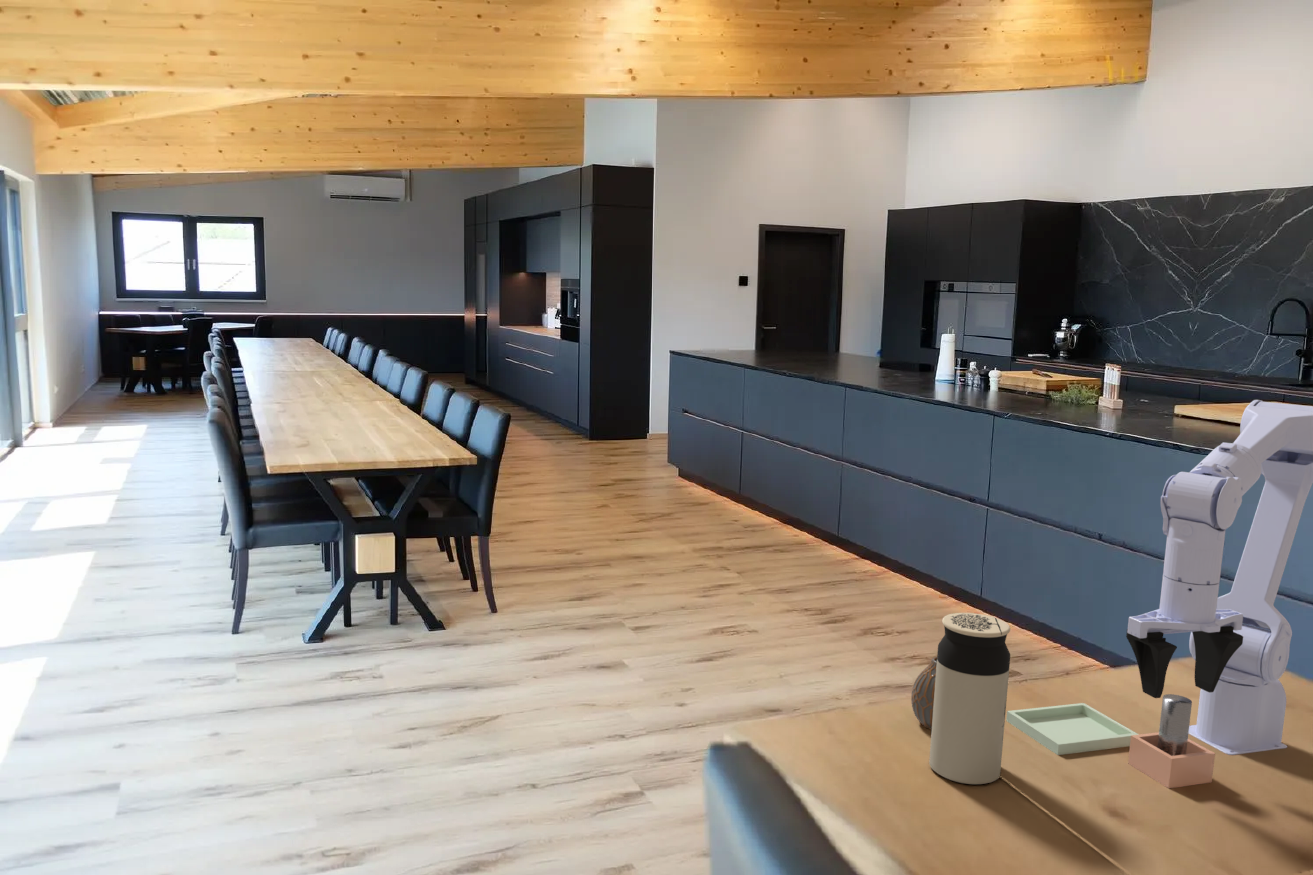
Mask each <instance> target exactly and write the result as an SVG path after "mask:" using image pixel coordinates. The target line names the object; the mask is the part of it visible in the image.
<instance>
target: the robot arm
mask: <svg viewBox="0 0 1313 875" xmlns="http://www.w3.org/2000/svg"><path fill="white" fill-rule="evenodd" d="M1261 475H1263V477H1264V481H1265V482H1264V485H1263V487H1262V488H1263V489H1262V491H1261V495H1260V498H1259V501H1258V503H1257V508H1256V511H1255V514H1254V516H1253V519H1252V523H1251V526H1250V530H1249V532H1248V536H1247V538H1246V542H1245V545H1244V549H1243V551H1242V554H1241V558H1240V561H1239V564H1238V568H1237V571H1236V574H1235V576H1234V581H1233V583H1232V585H1231V586H1232V587H1231V590H1230V592H1228V593H1226V594H1224V595H1220V596H1219V590H1220V579H1221V573H1222V572H1221V571H1222V562H1223V557H1224V556H1223V555H1224V554H1223V553H1224V548H1225V546H1224V544H1225V540H1226V539H1225V538H1226V530H1227V529H1229V527H1231V526H1232V525H1233V523H1234V521H1235V519H1236V516H1237V515H1238V514H1237V513H1238V510H1239V508H1240V507H1241V506H1242V503H1243V496H1244V495H1245V494H1246V493H1247V492H1248V491H1249V490H1250V489H1251V488H1252V487H1253V486H1254V485H1255V484H1256V482H1258V481H1259V479H1260V477H1261ZM1312 485H1313V405H1302V404H1291V403H1281V402H1272V401H1271V402H1270V401H1263V400H1262V399H1261V400H1260V399H1253V400H1252V401H1250V403H1249V404H1248V405H1247V406H1246V407H1245V408H1244V411H1243V412H1242V416H1241V418H1240V427H1239V435H1238V436H1237V438H1236V439H1235V440H1234V441H1233V442H1232V443H1231V442H1222V443H1220V445H1217V446H1216V447H1215V448H1214V449H1213V450H1211V452H1209V453H1208V455H1206V456H1205V457H1204V458H1203V459H1201V461H1200V462H1199V463H1198V464H1197V465H1196V466H1194V467H1193V468H1192V469H1191V470H1190V471H1189V472H1187V471H1180V472H1177V474H1173V475H1171V476H1169V477H1168V478H1167V480H1166V481H1165V484H1164V486H1163V490H1162V493H1161V494H1162V495H1161V496H1160V510H1161V515H1162V518H1163V519H1162V523H1163V524H1162V532H1163V535H1165V536H1166V542H1165V551H1164V561H1163V571H1162V581H1161V589H1160V591H1161V592H1160V601H1159V606H1158V607H1159V608H1157V609H1155V610H1151V611H1149V612H1145V613H1142V614H1139V615H1134V616H1129V617H1128V623H1127V629H1126V635H1125V637H1126V639H1127V641H1128V643H1129V645H1130V647H1131V649H1132V651H1133V654H1134V657H1135V660H1136V663H1137V667H1138V671H1139V672H1138V673H1139V677H1140V681H1141V688H1142V693H1144V694H1145V695H1148V696H1150V697H1152V698H1154V699H1160V698H1162V696H1163V692H1164V688H1165V683H1166V675H1167V670H1168V667H1169V665H1170V662H1171V659H1172V657H1173V655H1174V653H1175V652H1176V650H1177V648H1178V646H1177V645H1175V644H1173V643H1171V642H1169V641H1166V640H1167V638H1166V637H1164V635H1168V634H1182V633H1190V635H1189V640H1188V641H1189V642H1188V643H1189V644H1188V646H1189V647H1188V648H1189V653H1190V654H1191V657H1192V658H1193V660H1194V661H1195V662H1194V685H1195V687H1196V688H1199V689H1200V692H1199V700H1198V709H1197V717H1196V724H1192V725H1189V733H1188V735H1189V736H1192V737H1194V738H1196V739H1197V740H1199V741H1201V742H1203V743H1205V744H1207V745H1208V746H1211V747H1212V748H1214V749H1216V750H1218V751H1220V752H1221V753H1224V754H1226V755H1228V756H1236V755H1242V754H1243V755H1244V754H1251V753H1257V752H1266V751H1272V750H1280V749H1281V750H1282V749H1287V748H1288V745H1286V744H1284V743H1283V742H1282V740H1283V731H1284V723H1285V717H1286V716H1285V715H1286V708H1287V694H1286V690H1285V688H1284V685H1283V684H1282V682H1281V681H1280V679H1281V678H1282V676H1283V674H1285V671H1286V669H1287V666H1288V662H1289V658H1290V648H1291V647H1290V645H1291V640H1292V636H1293V631H1292V626H1291V625H1290V624H1291V623H1290V622H1289V621H1288V620H1287V619H1286V617H1285V616H1284V615H1283V614H1282V613H1281V612H1280V611H1279V609H1277V608H1276V607H1275V606H1274V604H1275V601H1276V598H1277V594H1278V591H1279V588H1280V585H1281V582H1282V578H1283V574H1284V571H1285V568H1286V565H1287V562H1288V559H1289V556H1290V552H1291V549H1292V546H1293V543H1294V539H1295V535H1296V532H1297V530H1298V526H1299V523H1300V519H1301V517H1302V513H1303V510H1304V507H1305V503H1306V500H1307V498H1308V496H1309V492H1310V490H1311V488H1312Z"/></svg>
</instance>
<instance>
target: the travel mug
mask: <svg viewBox="0 0 1313 875" xmlns="http://www.w3.org/2000/svg"><path fill="white" fill-rule="evenodd" d="M941 622H942V625H943V627H944V636H943V637H942V639H941V640H940V641H939V643H938V644H937V654H936V657H937V666H936V679H935V693H934V706H933V719H932V729H931V736H930V746H929V747H930V749H929V759H928V760H929V761H928V764H929V766H930V768H931V769H932V770H933V771H934V772H935V773H937V775H940V776H941V777H943V778H945V779H947V780H949V781H953V782H955V783H959V784H963V785H972V786H973V785H975V786H977V785H983V784H988V783H989V784H990V783H992V782H995V781H997V780H998V779H999V778H1000V776H1001V771H1002V770H1001V769H1002V758H1003V757H1002V755H1003V746H1004V735H1005V724H1006V723H1005V721H1006V714H1007V710H1006V709H1007V698H1008V689H1009V688H1008V687H1009V678H1010V677H1009V676H1010V664H1011V653H1010V650H1009V648H1008V646H1007V644H1006V640H1007V636H1008V634H1009V633H1010V632H1011V626H1010V625H1009V623H1007V622H1006V621H1004V620H1002V619H1000V618H998V617H994V616H992V615H991V616H990V615H986V614H981V613H973V612H956V613H949V614H946V615H944V616H943V617H942V620H941Z"/></svg>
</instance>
